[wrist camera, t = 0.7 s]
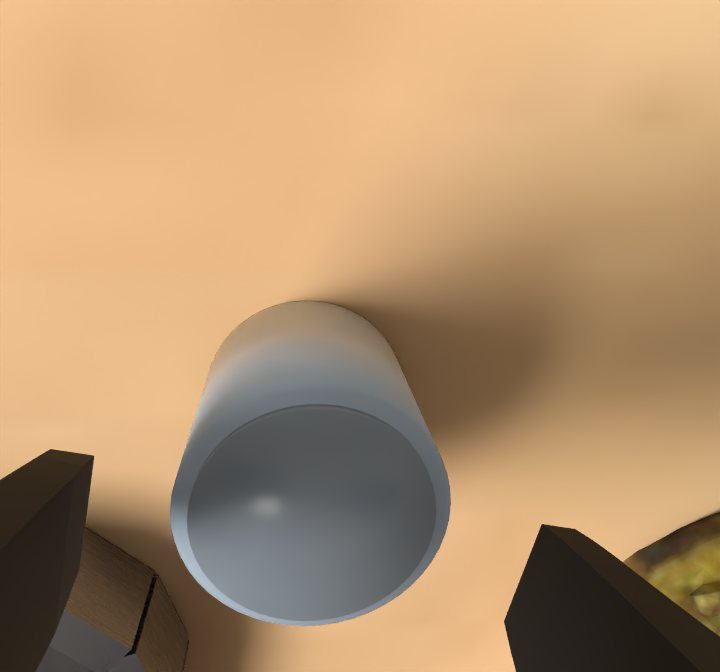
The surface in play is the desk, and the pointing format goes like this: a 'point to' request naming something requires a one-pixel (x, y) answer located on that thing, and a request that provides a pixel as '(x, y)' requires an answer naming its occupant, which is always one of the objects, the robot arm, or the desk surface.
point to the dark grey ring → (116, 618)
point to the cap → (308, 471)
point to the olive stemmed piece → (686, 569)
